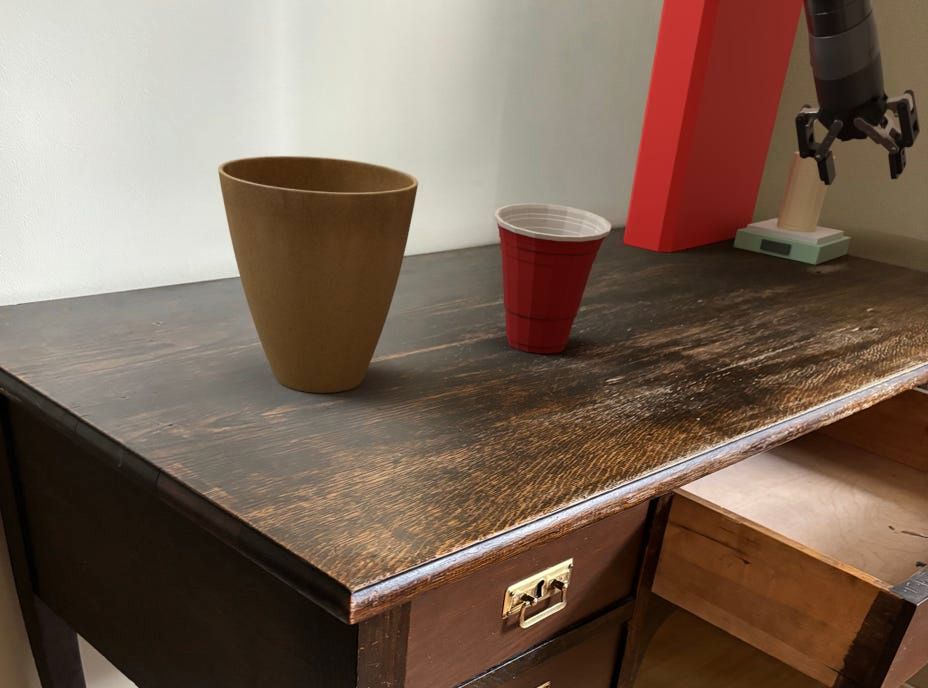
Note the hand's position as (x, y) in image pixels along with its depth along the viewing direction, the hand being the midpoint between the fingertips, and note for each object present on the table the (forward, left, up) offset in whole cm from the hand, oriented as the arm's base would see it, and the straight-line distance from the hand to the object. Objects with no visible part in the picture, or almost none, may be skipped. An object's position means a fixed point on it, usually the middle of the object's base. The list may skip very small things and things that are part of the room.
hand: (862, 178), depth 127 cm
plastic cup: (+7, +63, -13) cm, 64 cm away
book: (+25, -5, -13) cm, 29 cm away
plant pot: (+13, +87, -13) cm, 89 cm away
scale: (+11, -12, -13) cm, 21 cm away
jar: (+12, -12, -9) cm, 19 cm away
